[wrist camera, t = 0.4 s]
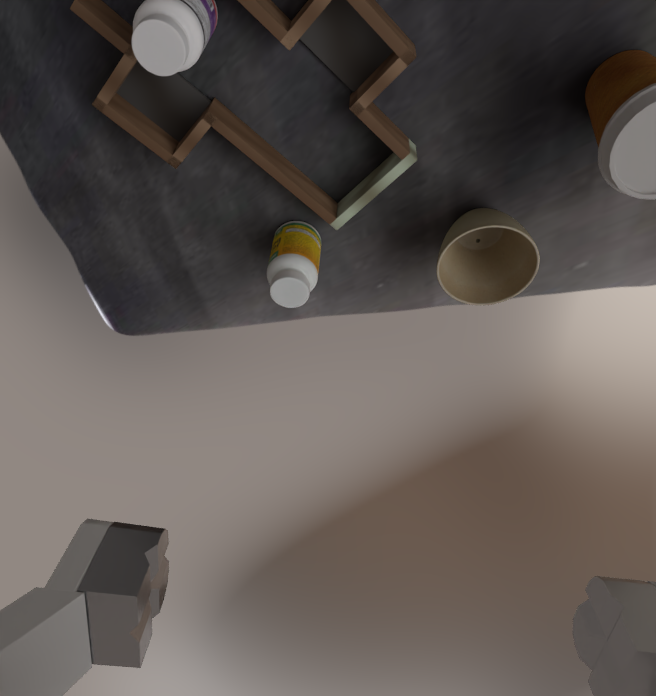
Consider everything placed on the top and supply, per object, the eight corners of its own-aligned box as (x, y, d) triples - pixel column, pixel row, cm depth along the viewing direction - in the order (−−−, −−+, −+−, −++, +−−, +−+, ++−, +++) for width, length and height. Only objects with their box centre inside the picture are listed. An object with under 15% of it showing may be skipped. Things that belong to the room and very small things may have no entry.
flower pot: (454, 175, 60) (461, 214, 55) (543, 201, 61) (559, 240, 56) (418, 253, 67) (422, 293, 61) (499, 274, 68) (509, 315, 63)
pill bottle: (159, 40, 52) (127, 82, 45) (151, -31, 48) (114, 4, 41) (220, 46, 52) (197, 89, 45) (217, -24, 48) (191, 12, 41)
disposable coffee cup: (558, 141, 57) (591, 208, 48) (576, 34, 50) (618, 90, 41) (662, 133, 55) (715, 200, 47) (696, 23, 49) (764, 77, 40)
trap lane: (193, -203, 41) (184, -201, 39) (464, 101, 54) (468, 115, 52) (52, 52, 53) (39, 64, 51) (301, 247, 67) (299, 263, 65)
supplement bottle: (317, 262, 68) (311, 317, 61) (271, 254, 68) (260, 309, 61) (325, 223, 64) (320, 277, 58) (277, 214, 64) (265, 268, 57)
